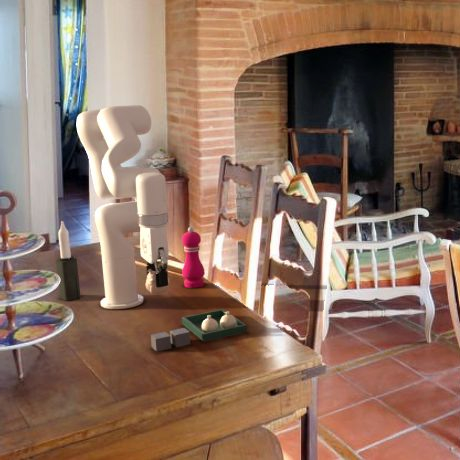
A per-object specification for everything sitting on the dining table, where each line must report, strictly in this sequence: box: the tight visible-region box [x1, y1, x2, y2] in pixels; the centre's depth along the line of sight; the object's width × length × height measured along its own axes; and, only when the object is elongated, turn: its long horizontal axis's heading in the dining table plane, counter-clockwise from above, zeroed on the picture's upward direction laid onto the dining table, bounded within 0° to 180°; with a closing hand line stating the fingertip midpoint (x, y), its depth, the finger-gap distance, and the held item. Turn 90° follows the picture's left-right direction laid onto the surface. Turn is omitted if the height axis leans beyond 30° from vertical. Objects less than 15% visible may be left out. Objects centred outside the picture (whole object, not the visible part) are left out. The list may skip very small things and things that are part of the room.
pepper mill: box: [181, 226, 206, 289], centre depth 265 cm, size 7×7×20 cm
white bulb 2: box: [220, 310, 236, 329], centre depth 225 cm, size 4×4×5 cm
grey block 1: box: [150, 331, 172, 352], centre depth 212 cm, size 4×4×4 cm
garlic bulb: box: [145, 269, 170, 296], centre depth 218 cm, size 7×6×8 cm
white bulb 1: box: [202, 315, 218, 333], centre depth 222 cm, size 4×4×5 cm
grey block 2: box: [169, 327, 191, 348], centre depth 215 cm, size 4×4×4 cm
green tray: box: [181, 308, 248, 342], centre depth 227 cm, size 17×13×3 cm
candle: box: [55, 220, 81, 302], centre depth 251 cm, size 5×5×25 cm
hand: (157, 282), depth 218 cm, fingers closed on garlic bulb, 6 cm apart
